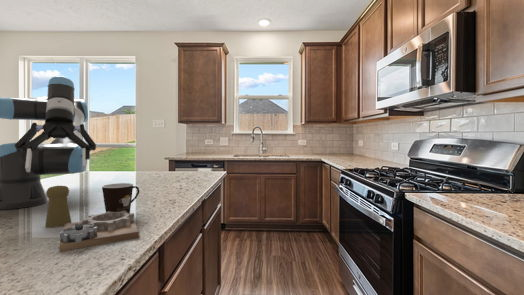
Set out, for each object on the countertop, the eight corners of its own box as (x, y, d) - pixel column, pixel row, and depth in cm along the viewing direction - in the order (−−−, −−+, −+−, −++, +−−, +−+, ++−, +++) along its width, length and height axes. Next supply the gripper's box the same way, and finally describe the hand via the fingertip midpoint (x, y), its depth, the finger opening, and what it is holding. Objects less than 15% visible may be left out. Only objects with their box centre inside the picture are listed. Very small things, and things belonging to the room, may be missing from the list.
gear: (61, 235, 64) (61, 222, 64) (96, 230, 68) (96, 217, 68) (58, 245, 58) (58, 231, 58) (97, 239, 62) (97, 225, 61)
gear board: (65, 228, 73) (65, 216, 72) (130, 219, 81) (130, 208, 81) (59, 251, 58) (59, 235, 58) (139, 237, 67) (139, 223, 67)
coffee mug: (105, 223, 78) (105, 189, 78) (99, 216, 84) (99, 185, 84) (146, 215, 86) (146, 184, 85) (138, 210, 92) (138, 181, 92)
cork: (57, 228, 73) (56, 188, 73) (39, 226, 74) (38, 187, 74) (76, 221, 79) (76, 184, 79) (59, 220, 80) (59, 183, 80)
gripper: (7, 104, 81) (-3, 164, 71) (103, 109, 95) (105, 160, 85) (12, 119, 86) (4, 177, 77) (102, 122, 100) (104, 172, 90)
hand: (57, 168), depth 81 cm, fingers open, 13 cm apart
